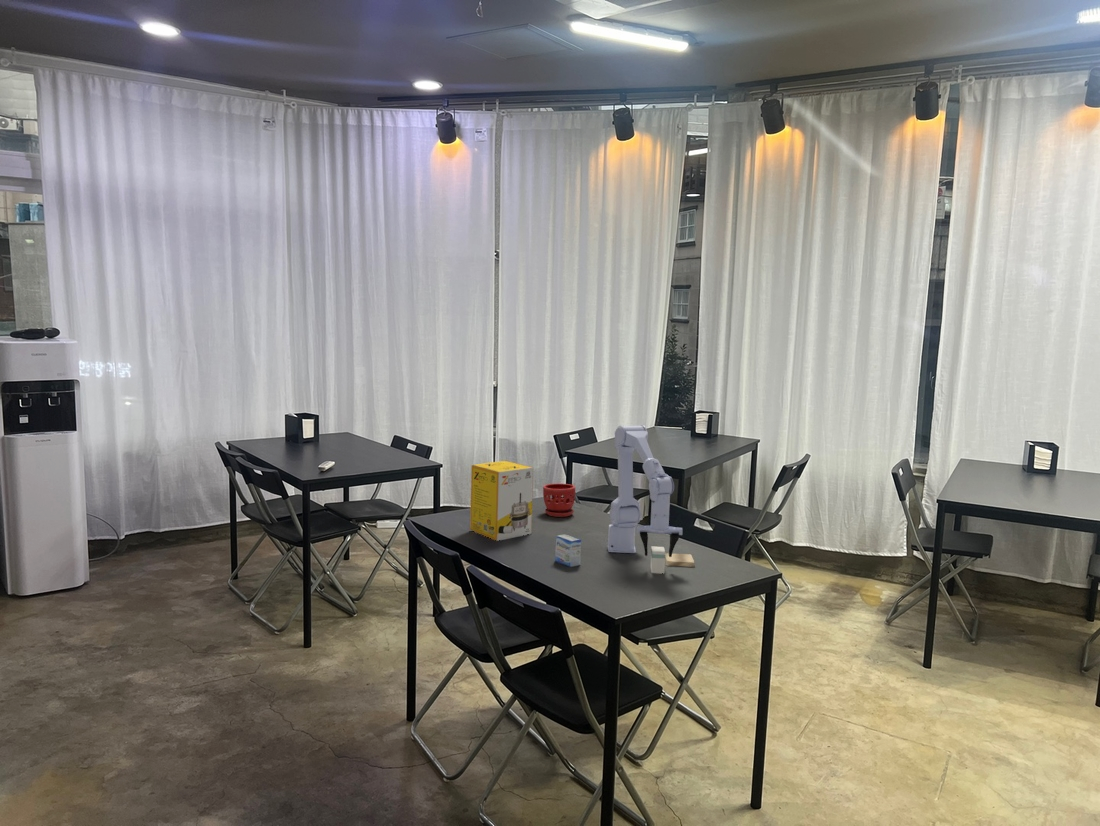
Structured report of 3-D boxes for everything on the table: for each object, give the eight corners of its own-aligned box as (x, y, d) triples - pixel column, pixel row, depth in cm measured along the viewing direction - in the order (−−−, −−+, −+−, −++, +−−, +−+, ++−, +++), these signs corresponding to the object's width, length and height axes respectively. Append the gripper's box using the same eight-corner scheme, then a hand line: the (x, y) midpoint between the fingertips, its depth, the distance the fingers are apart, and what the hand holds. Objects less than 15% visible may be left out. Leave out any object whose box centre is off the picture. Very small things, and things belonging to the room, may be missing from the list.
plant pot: (575, 511, 330) (577, 483, 328) (572, 519, 317) (573, 490, 315) (544, 509, 331) (545, 481, 330) (540, 517, 319) (541, 488, 317)
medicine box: (554, 561, 262) (555, 535, 261) (564, 559, 265) (565, 533, 264) (570, 567, 256) (571, 541, 255) (580, 565, 259) (581, 539, 258)
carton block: (651, 573, 253) (652, 551, 252) (650, 567, 259) (651, 546, 258) (664, 573, 253) (665, 552, 252) (662, 567, 259) (663, 546, 258)
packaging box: (504, 524, 306) (505, 460, 303) (531, 534, 294) (533, 467, 291) (469, 531, 295) (471, 464, 292) (496, 541, 283) (498, 472, 280)
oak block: (666, 567, 261) (666, 561, 261) (664, 558, 270) (664, 553, 270) (694, 568, 261) (694, 562, 261) (690, 560, 270) (691, 554, 269)
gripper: (637, 516, 250) (636, 558, 252) (684, 518, 249) (682, 560, 251) (636, 510, 257) (634, 551, 259) (681, 512, 256) (679, 553, 258)
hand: (658, 555), depth 255 cm, fingers open, 7 cm apart
